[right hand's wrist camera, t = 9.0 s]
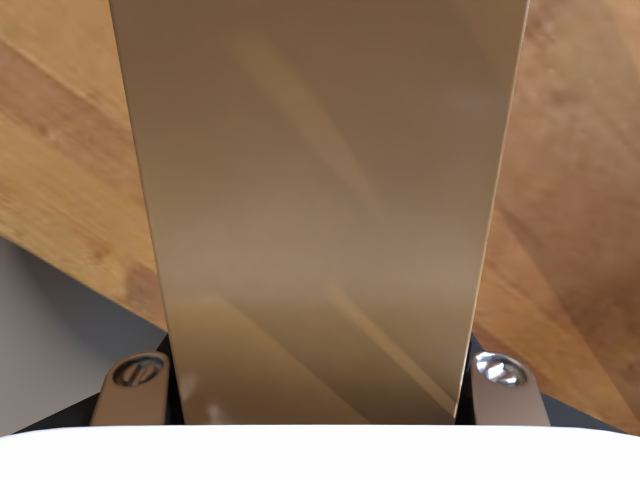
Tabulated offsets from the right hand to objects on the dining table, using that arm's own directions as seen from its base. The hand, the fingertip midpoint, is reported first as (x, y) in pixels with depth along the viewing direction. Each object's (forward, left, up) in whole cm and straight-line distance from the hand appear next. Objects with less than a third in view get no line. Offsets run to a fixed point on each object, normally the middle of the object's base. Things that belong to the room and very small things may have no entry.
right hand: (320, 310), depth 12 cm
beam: (-13, -15, -4) cm, 20 cm away
